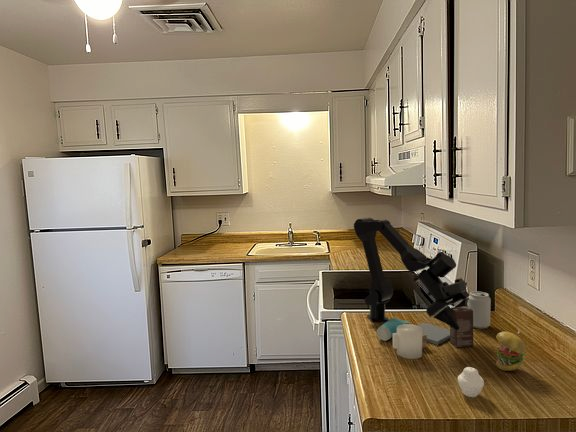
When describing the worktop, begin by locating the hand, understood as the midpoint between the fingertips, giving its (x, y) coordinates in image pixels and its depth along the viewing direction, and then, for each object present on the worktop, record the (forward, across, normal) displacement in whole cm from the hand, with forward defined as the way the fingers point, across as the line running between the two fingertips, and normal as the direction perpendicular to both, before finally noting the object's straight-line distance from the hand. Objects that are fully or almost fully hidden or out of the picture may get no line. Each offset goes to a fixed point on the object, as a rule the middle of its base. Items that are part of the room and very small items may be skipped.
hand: (465, 325), depth 132 cm
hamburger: (+16, -6, -6) cm, 18 cm away
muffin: (+15, -27, -5) cm, 31 cm away
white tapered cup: (-2, -18, +11) cm, 21 cm away
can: (+1, +20, +8) cm, 22 cm away
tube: (-11, -16, +17) cm, 26 cm away
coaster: (-4, 0, +14) cm, 14 cm away
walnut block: (-3, -11, +12) cm, 17 cm away
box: (+4, 0, +6) cm, 7 cm away
